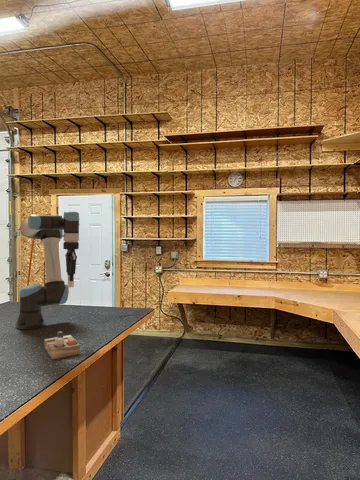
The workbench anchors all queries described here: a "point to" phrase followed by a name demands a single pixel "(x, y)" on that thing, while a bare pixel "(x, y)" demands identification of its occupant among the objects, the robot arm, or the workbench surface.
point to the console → (61, 348)
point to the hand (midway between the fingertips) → (70, 287)
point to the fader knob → (59, 334)
